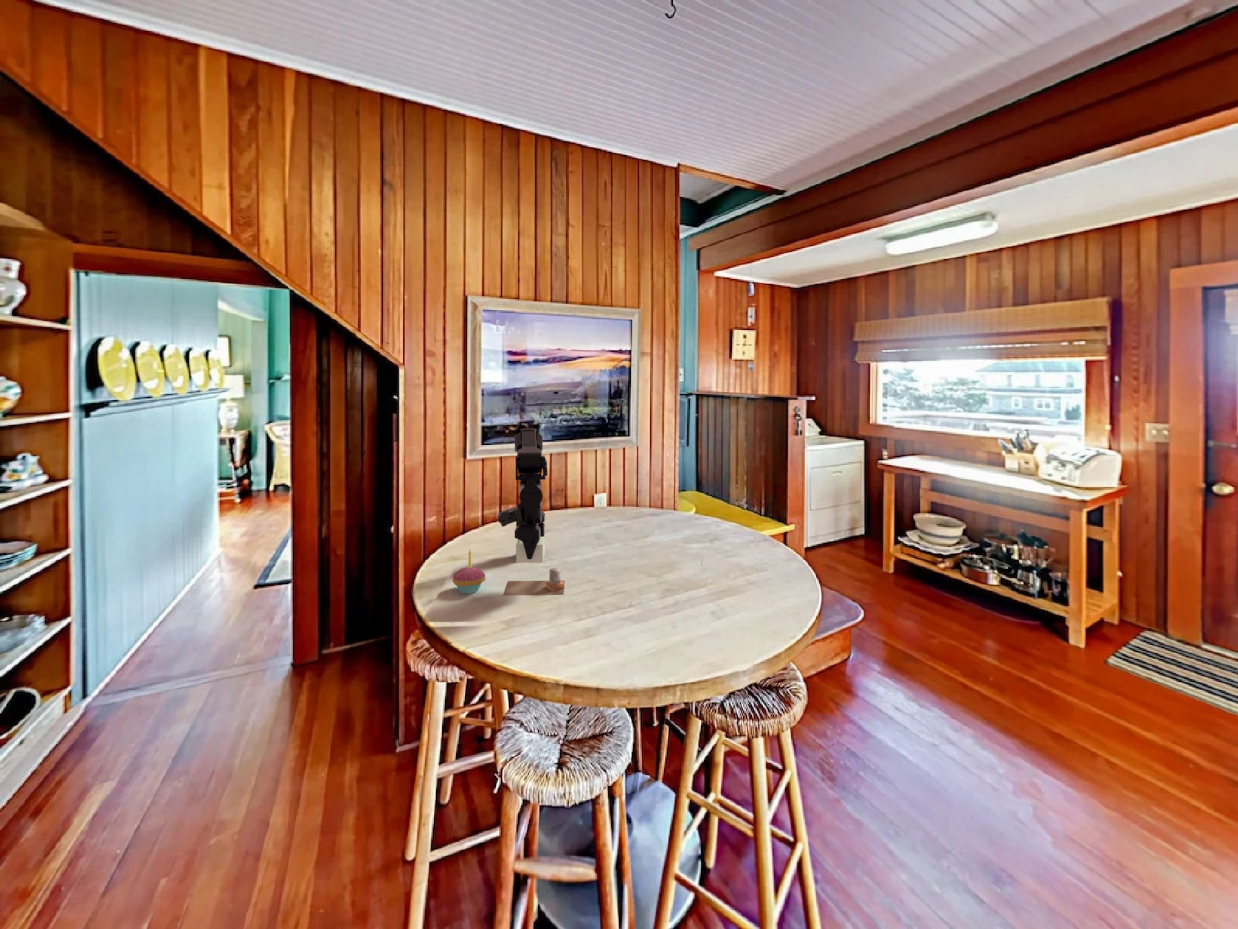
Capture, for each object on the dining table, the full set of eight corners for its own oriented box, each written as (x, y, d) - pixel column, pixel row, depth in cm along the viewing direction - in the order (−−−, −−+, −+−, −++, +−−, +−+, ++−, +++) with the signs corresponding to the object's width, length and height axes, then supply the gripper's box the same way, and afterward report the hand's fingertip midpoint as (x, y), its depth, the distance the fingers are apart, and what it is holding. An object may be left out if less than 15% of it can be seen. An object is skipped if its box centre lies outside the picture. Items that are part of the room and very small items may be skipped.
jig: (565, 583, 159) (565, 563, 158) (563, 598, 150) (563, 576, 149) (507, 584, 158) (507, 564, 157) (502, 598, 148) (502, 577, 147)
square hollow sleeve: (545, 554, 156) (544, 536, 155) (542, 562, 149) (542, 544, 148) (519, 554, 155) (519, 536, 155) (516, 562, 149) (515, 544, 148)
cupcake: (456, 587, 156) (455, 546, 154) (488, 587, 156) (487, 545, 154) (450, 600, 147) (448, 556, 145) (483, 599, 148) (482, 555, 146)
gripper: (505, 490, 158) (506, 543, 161) (493, 506, 140) (495, 566, 142) (545, 490, 159) (545, 544, 161) (538, 507, 140) (539, 566, 143)
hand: (531, 554), depth 152 cm, fingers closed on square hollow sleeve, 7 cm apart
